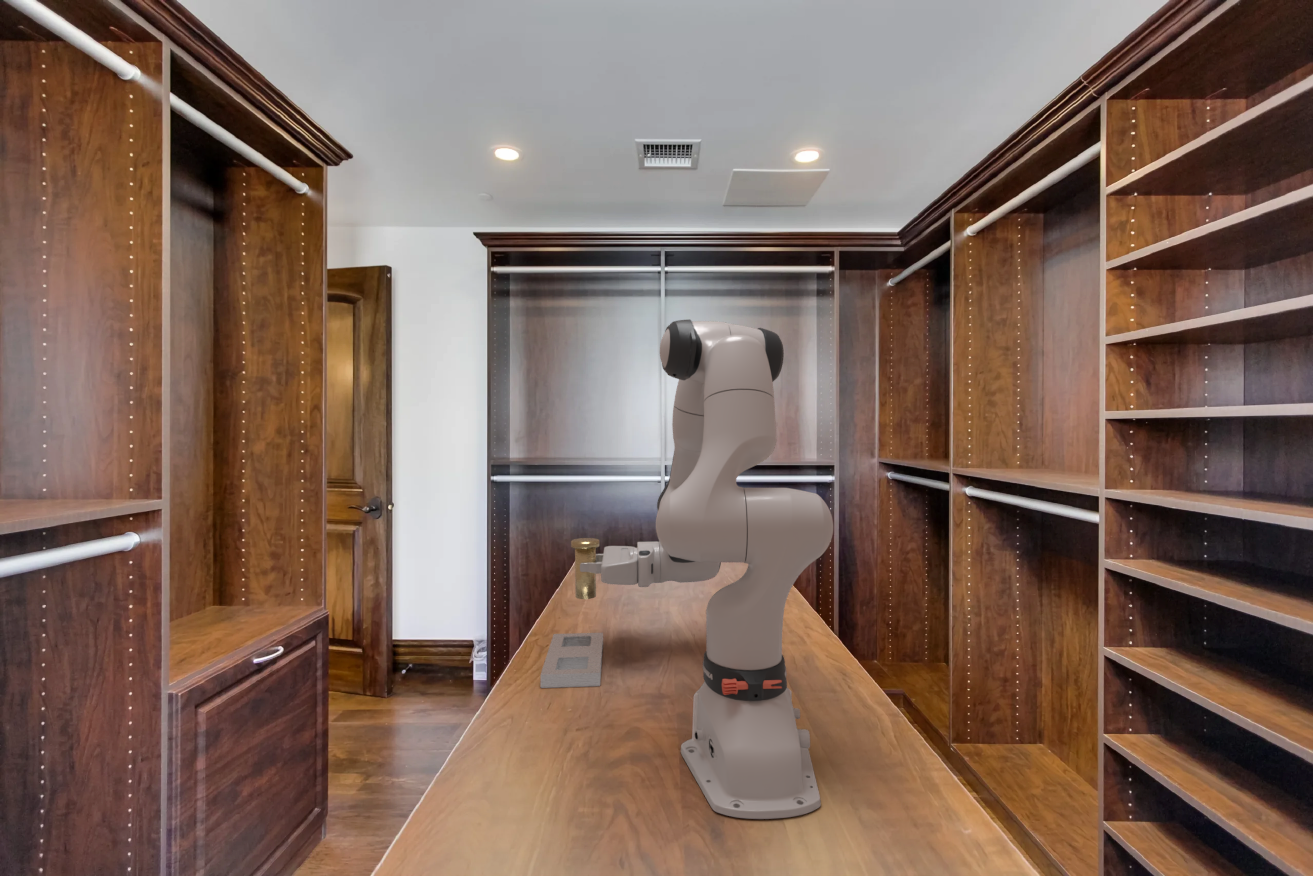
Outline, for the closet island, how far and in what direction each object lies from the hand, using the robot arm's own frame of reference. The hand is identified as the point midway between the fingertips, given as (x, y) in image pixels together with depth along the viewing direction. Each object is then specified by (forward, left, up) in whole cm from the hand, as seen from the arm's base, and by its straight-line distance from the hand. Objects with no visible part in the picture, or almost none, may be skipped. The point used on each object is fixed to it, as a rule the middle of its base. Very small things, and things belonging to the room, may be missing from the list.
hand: (581, 563), depth 124 cm
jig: (-6, +1, -19) cm, 20 cm away
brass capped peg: (0, -1, -7) cm, 7 cm away
